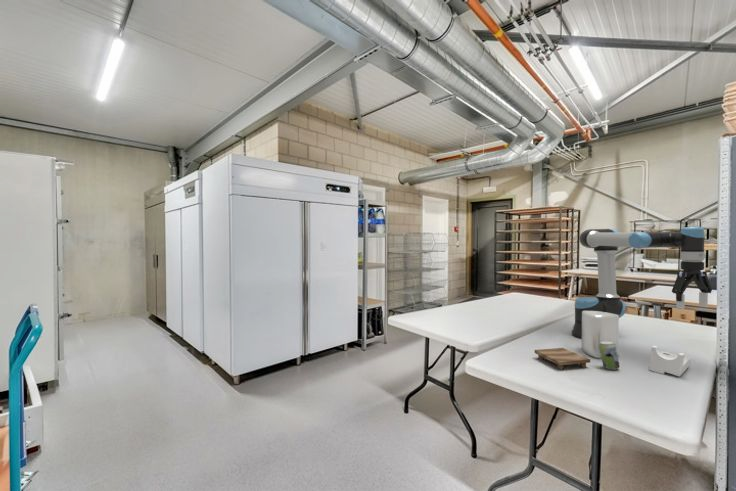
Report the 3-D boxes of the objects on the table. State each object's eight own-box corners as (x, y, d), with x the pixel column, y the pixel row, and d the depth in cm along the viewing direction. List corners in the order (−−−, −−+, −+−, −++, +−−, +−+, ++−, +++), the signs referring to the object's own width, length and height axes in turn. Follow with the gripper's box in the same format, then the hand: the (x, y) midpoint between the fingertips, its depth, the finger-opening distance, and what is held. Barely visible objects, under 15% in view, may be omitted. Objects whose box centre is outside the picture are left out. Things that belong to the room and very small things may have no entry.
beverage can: (622, 371, 139) (622, 344, 139) (603, 370, 141) (603, 343, 140) (614, 366, 145) (614, 340, 145) (596, 365, 147) (596, 339, 147)
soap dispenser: (618, 354, 160) (618, 311, 159) (615, 362, 149) (615, 316, 149) (583, 348, 170) (583, 307, 170) (577, 355, 160) (577, 311, 159)
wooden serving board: (534, 357, 156) (534, 349, 156) (562, 355, 159) (562, 347, 159) (559, 370, 141) (559, 362, 141) (590, 367, 144) (590, 359, 143)
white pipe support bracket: (679, 379, 132) (682, 355, 131) (648, 369, 140) (651, 346, 139) (688, 369, 143) (691, 346, 142) (659, 360, 151) (662, 339, 150)
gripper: (680, 262, 137) (680, 311, 137) (723, 260, 142) (723, 307, 142) (661, 261, 144) (661, 307, 144) (702, 259, 149) (702, 304, 150)
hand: (691, 307), depth 143 cm, fingers open, 13 cm apart
